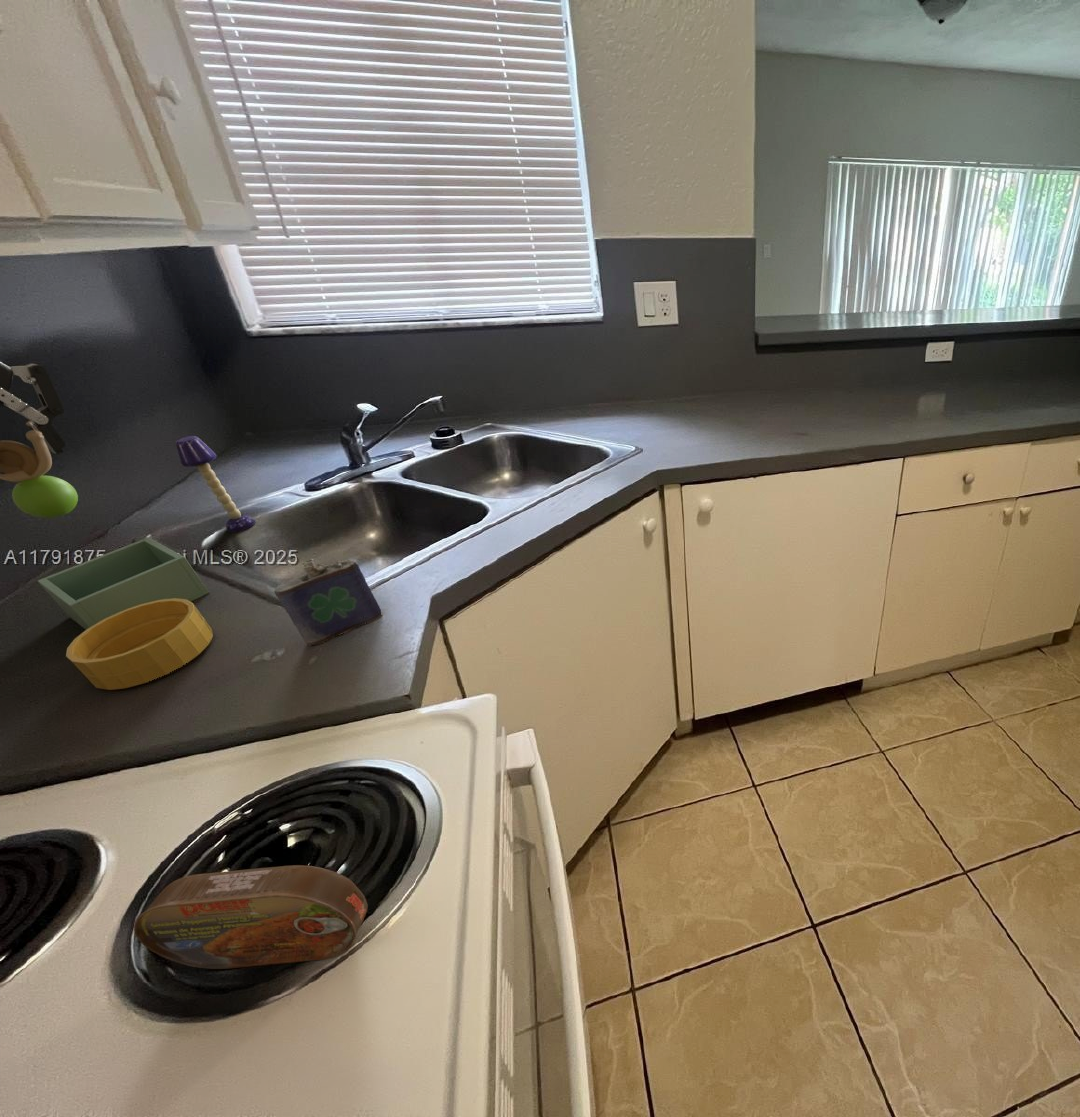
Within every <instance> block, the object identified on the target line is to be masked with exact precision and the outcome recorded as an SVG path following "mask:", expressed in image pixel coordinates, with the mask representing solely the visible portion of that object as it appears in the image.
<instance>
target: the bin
mask: <svg viewBox="0 0 1080 1117" xmlns="http://www.w3.org/2000/svg"><path fill="white" fill-rule="evenodd" d="M37 583H39V585H40V586H41V587H42V588H43V589H44V590H45V591H46V593H47V594H49V596H50V597H51V598H52V599H53V601H55V603H56V604H57V605H58V606H59V607H60V608H61V609H62V611H64V613H65V614H66V615H67V616H68V617H69V618H70V619H72V621H73V622H75V623H77V625H79V626H80V627H81V628H83V629H84V631H85V630H87V629H88V628H90V627H91V626H93V625H95V624H97V623H98V622H100V621H102V620H104V619H105V618H108V617H110V616H112V615H114V614H117V613H119V612H121V611H123V610H126V609H129V608H132V607H135V606H138V605H140V604H144V603H148V602H153V601H157V600H163V599H173V598H178V599H186V600H188V601H190V602H192V601H195V600H197V599H199V598H201V597H204V596H205V595H207V594H209V593H210V591H209V590H208V588H207V586H205V584H204V583H203V581H202V580H201V578H200V576H199V575H198V573H197V572H196V571H195V570H194V568H193V566H192V565H191V564H190V563H189V561H188V560H187V558H186V556H184V555H182V554H180V553H179V552H176V551H174V550H172V549H171V548H169V547H167V546H165V545H163V544H161V543H160V542H157V541H156V540H153V539H152V538H150V537H145V538H143V539H141V540H138V541H135V542H132V543H130V544H128V545H125V546H123V547H122V546H121V547H120V548H117V549H114V550H113V551H110V552H107V553H105V554H102V555H100V556H97V557H94V558H92V559H90V560H86V561H84V562H81V563H79V564H76V565H74V566H71V567H69V568H66V569H64V570H61V571H58V572H56V573H53V574H50V575H48V576H46V577H43V578H40V579H37Z"/></svg>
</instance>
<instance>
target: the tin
mask: <svg viewBox="0 0 1080 1117" xmlns="http://www.w3.org/2000/svg"><path fill="white" fill-rule="evenodd" d="M368 908H369V905H368V902H367V898H366V897H365V895H364V894H363V892H362V891H361V890H360V888H359V887H357V886H356V884H355V883H354V882H353V881H352V880H351V879H350V878H349V877H347V876H345V875H342V874H341V873H338V872H336V871H333V870H331V869H327V868H323V867H319V866H313V865H300V864H296V865H295V864H294V865H283V866H282V865H281V866H270V867H259V868H247V869H238V870H229V871H228V870H227V871H218V872H216V871H215V872H209V873H197V874H191V875H186V876H182V877H179V878H178V879H176V880H173V881H172V882H171V883H169V884H168V885H167V886H166V887H164V888H163V889H162V890H161V892H160V893H159V894H158V895H157V896H156V897H155V899H153V901H152V902H151V904H150V905H149V906H148V907H147V908H146V910H145V911H144V912H142V913H141V914H139V915H138V916H137V918H136V919H135V921H134V924H133V931H134V934H135V937H136V938H137V939H138V940H139V941H140V943H141V944H142V946H144V947H146V948H147V949H148V950H149V951H151V952H153V953H154V954H156V955H158V956H160V957H162V958H164V959H167V960H169V961H172V962H175V963H178V964H181V965H185V966H189V967H193V968H199V969H207V970H208V969H209V970H226V969H229V970H230V969H238V968H239V969H240V968H249V967H258V966H259V967H260V966H270V965H278V964H279V965H280V964H292V963H301V962H311V961H323V960H327V959H332V958H334V957H337V956H340V955H342V954H343V953H345V952H347V951H348V950H349V949H350V948H351V947H352V946H353V944H354V943H355V941H356V939H357V938H356V937H357V934H358V932H359V930H360V927H361V926H362V924H363V922H364V919H365V918H366V914H367V912H368Z"/></svg>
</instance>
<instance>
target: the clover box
mask: <svg viewBox="0 0 1080 1117" xmlns="http://www.w3.org/2000/svg"><path fill="white" fill-rule="evenodd" d="M314 562H315V560H314V559H313V558H309V559H307V560H305V562H302V566H304V567H303V571H304V572H305V573H304V574H301V575H298V576H297V577H295V578H292V579H290V580H288V581H285V582H283V583H281V584H278V585H277V586H276V587H275V589H274V595H275V596H276V598H277V599H278V600H279V601H280V603H281V604H282V606H283V608H284V609H285V611H286V614H288V616H289V617H290V619H291V621H292V624H293V625H294V627H295V628H296V629H297V631H298V632H299V635H300V636H301V638H302V640H303V641H304V643H305V644H307V645H308V646H309V647H312V646H315V645H320V644H323V643H326V642H328V640H332V639H334V638H336V637H338V636H337V635H339V634H341V633H344V634H347V633H348V632H350V631H351V630H353V629H356V628H355V627H358V626H359V627H361V626H364V625H366V624H365V623H367V624H369V623H372V622H376V621H377V620H379V619H380V618H381V617H382V616H381V613H382V610H381V607H380V605H379V604H378V601H377V599H376V598H375V596H374V594H373V592H372V590H371V588H370V586H369V584H368V582H367V581H366V578H365V576H364V574H363V572H362V570H361V568H360V565H359V564H358V563H356V562H355V561H354V560H351V559H346V560H342V561H340V560H337V561H334V562H333V563H332V564H325V565H324V564H320V563H318V564H315V563H314ZM375 620H376V621H375ZM363 624H364V625H363ZM360 625H361V626H360ZM359 627H358V628H359ZM335 636H336V637H335ZM325 641H326V642H325Z"/></svg>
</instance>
